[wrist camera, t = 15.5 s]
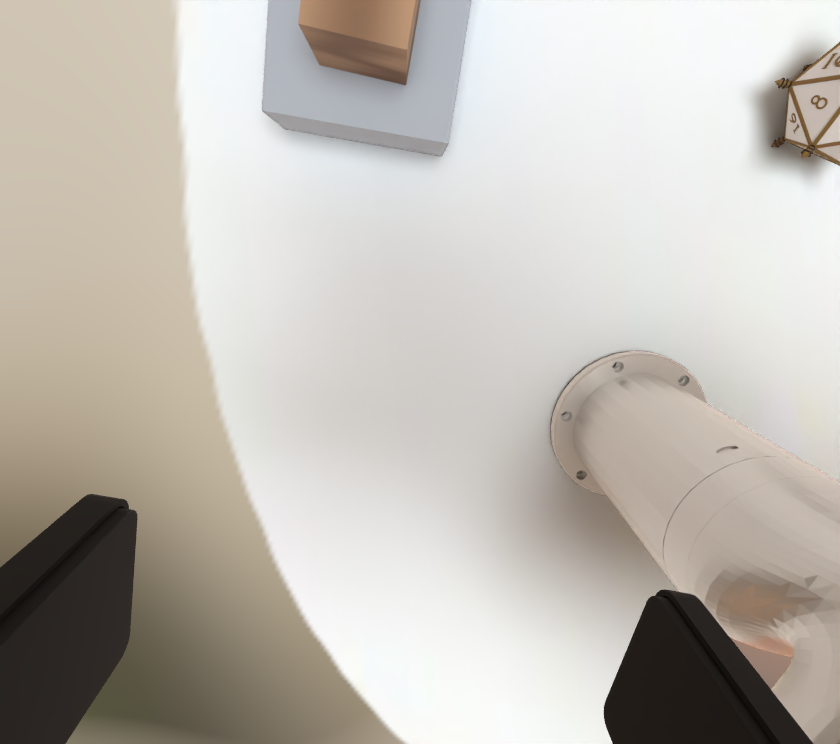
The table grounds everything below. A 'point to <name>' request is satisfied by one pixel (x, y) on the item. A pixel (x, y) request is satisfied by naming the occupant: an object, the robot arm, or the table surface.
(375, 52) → the copper block
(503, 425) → the table surface
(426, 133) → the slate base
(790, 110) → the game die
